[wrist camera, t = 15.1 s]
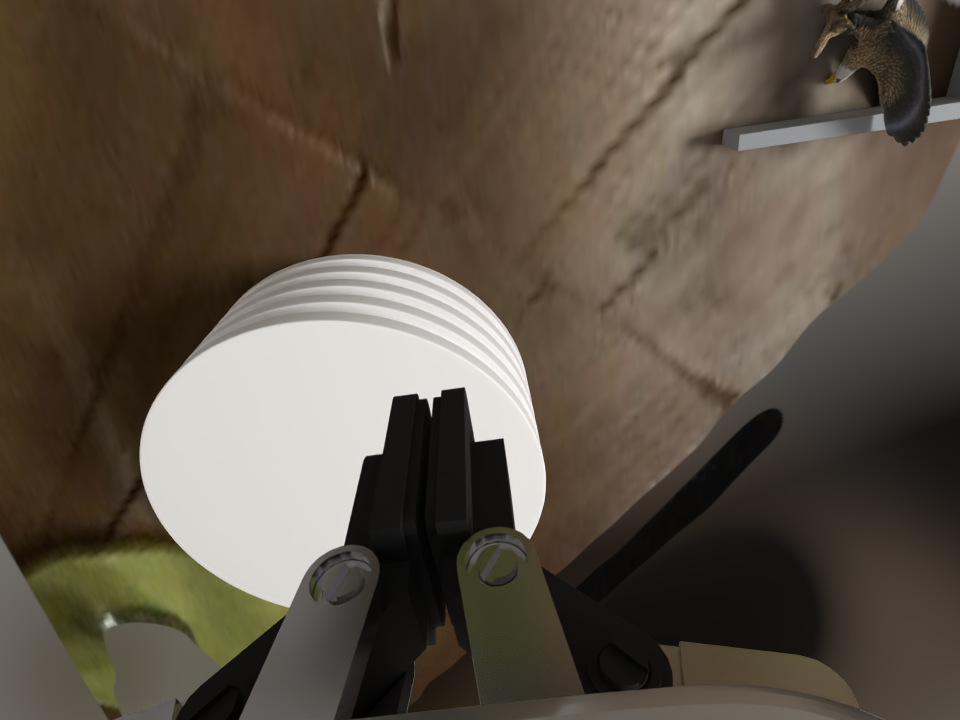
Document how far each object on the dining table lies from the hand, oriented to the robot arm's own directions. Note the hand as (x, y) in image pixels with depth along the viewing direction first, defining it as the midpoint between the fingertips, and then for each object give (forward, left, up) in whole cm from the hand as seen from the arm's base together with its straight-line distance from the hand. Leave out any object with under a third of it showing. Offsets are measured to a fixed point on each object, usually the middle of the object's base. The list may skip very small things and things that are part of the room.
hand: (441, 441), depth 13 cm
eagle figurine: (-4, +27, -29) cm, 40 cm away
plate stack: (+18, -10, -30) cm, 36 cm away
